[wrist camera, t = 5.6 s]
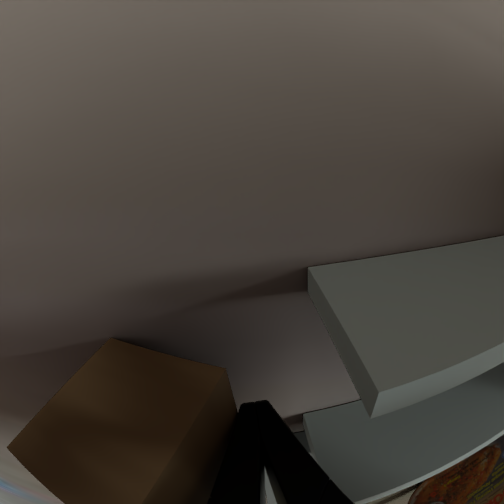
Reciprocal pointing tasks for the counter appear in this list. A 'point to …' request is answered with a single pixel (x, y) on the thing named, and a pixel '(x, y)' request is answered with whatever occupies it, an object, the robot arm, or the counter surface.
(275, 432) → the robot arm
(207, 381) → the block
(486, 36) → the counter surface
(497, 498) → the tin
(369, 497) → the grey open rectangular frame
